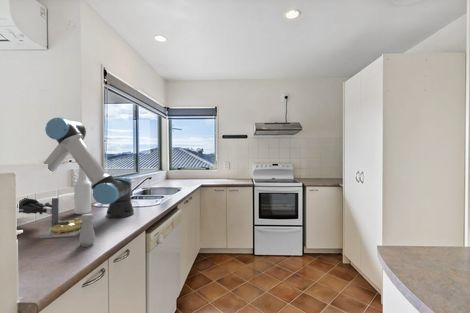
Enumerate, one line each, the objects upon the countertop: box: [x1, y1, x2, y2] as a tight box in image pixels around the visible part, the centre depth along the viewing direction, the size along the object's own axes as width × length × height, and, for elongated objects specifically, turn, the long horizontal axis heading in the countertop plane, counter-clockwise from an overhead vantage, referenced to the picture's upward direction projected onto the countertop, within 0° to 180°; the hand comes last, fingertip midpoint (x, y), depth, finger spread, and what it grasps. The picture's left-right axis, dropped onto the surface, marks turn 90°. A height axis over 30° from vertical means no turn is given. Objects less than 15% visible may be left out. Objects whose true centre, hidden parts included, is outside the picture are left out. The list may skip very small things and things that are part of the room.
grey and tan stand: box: [50, 197, 83, 232], centre depth 110 cm, size 13×13×15 cm
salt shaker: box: [78, 212, 96, 248], centre depth 94 cm, size 6×6×13 cm
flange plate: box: [39, 228, 81, 239], centre depth 110 cm, size 14×18×2 cm
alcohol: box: [73, 165, 92, 215], centre depth 142 cm, size 9×9×30 cm
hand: (52, 211), depth 108 cm, fingers closed
